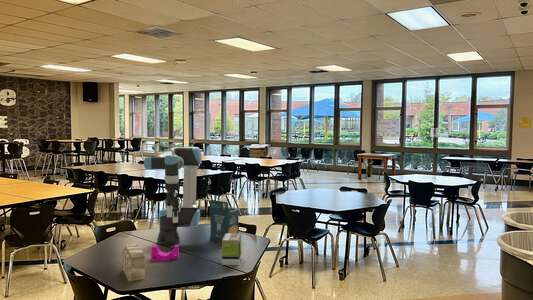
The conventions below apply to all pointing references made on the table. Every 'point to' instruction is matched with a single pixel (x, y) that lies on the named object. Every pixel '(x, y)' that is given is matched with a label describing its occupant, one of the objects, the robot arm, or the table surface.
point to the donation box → (222, 220)
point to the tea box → (231, 249)
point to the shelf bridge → (133, 262)
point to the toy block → (164, 254)
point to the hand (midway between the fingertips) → (172, 219)
